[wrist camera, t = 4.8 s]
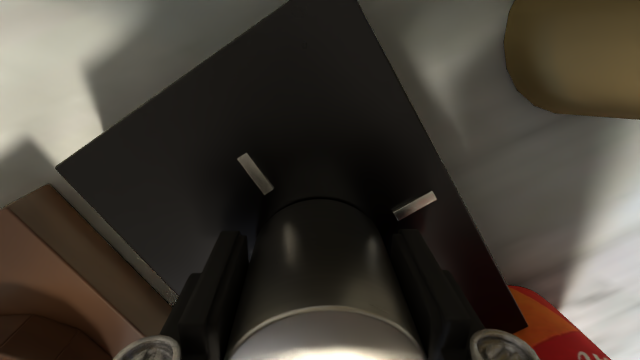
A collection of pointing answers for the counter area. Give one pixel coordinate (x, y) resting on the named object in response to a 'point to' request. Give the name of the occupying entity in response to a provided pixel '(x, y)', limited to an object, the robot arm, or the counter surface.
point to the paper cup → (552, 330)
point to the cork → (576, 55)
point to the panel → (284, 153)
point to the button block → (67, 286)
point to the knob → (322, 291)
